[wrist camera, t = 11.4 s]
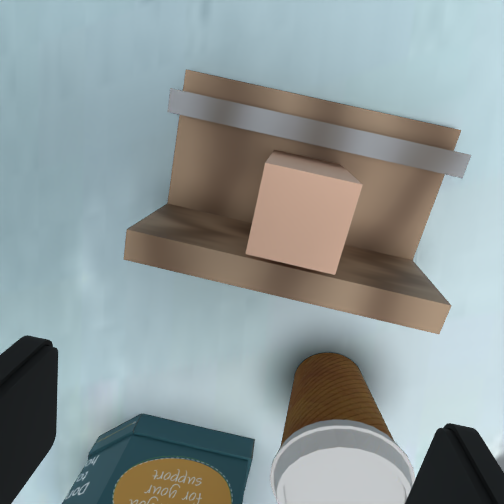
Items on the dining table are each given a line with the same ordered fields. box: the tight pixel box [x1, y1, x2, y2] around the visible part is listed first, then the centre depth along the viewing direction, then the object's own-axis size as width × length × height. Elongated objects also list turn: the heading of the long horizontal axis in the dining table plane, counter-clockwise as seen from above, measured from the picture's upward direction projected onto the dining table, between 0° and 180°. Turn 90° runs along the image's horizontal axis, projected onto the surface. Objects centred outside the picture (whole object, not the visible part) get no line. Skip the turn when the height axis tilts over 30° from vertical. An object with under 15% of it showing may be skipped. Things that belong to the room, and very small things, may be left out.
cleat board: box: [124, 70, 471, 334], centre depth 26 cm, size 20×13×9 cm, turn 78°
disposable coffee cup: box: [270, 353, 415, 504], centre depth 30 cm, size 10×10×12 cm
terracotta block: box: [246, 150, 363, 275], centre depth 25 cm, size 5×5×10 cm
